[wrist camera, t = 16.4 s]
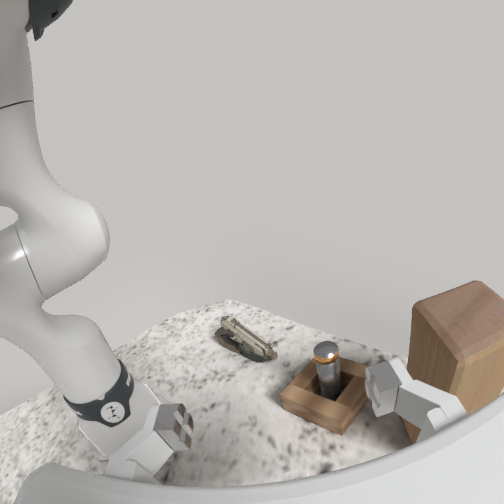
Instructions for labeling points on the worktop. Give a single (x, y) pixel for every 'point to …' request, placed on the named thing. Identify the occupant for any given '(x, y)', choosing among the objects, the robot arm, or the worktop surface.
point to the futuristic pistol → (244, 340)
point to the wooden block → (459, 346)
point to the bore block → (322, 409)
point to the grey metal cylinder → (328, 369)
